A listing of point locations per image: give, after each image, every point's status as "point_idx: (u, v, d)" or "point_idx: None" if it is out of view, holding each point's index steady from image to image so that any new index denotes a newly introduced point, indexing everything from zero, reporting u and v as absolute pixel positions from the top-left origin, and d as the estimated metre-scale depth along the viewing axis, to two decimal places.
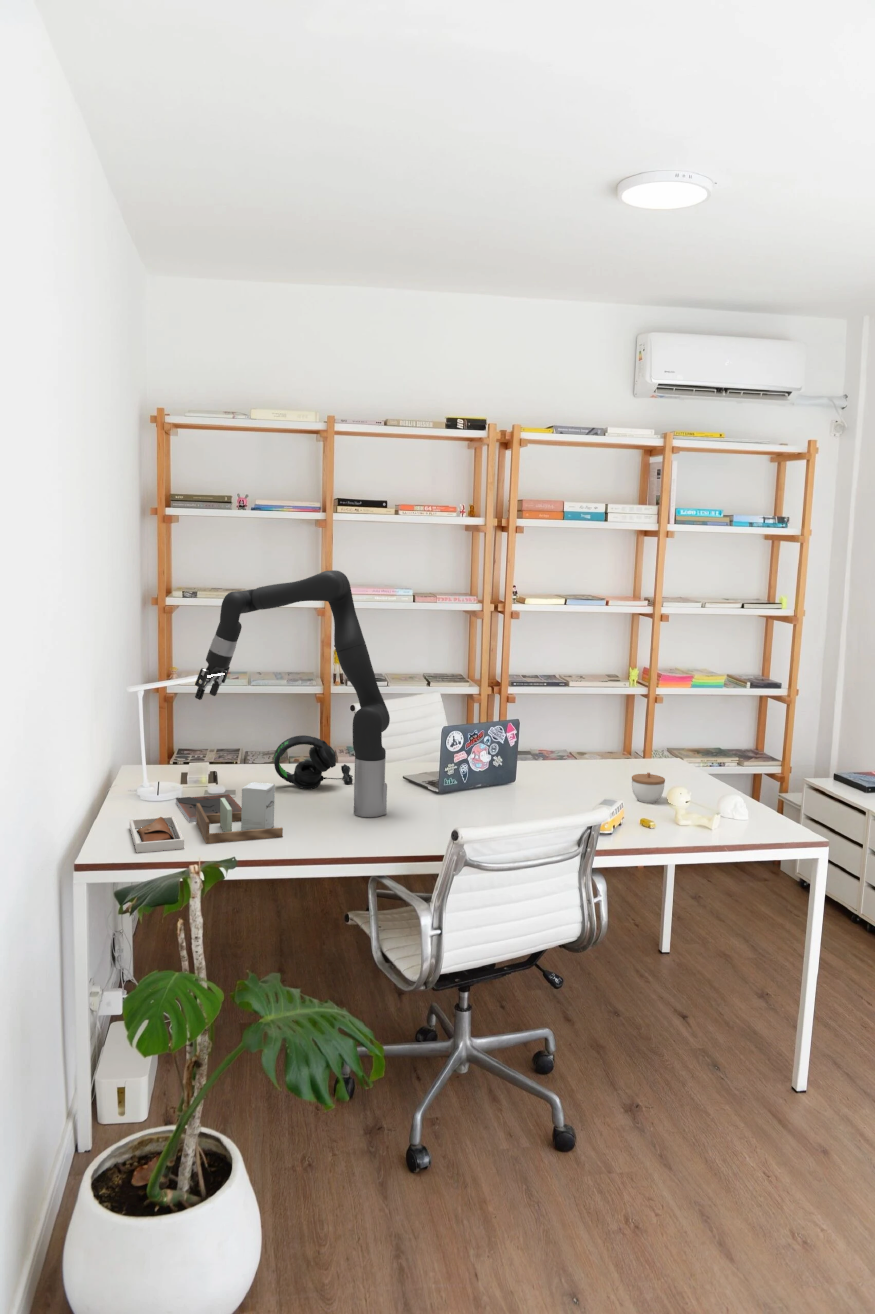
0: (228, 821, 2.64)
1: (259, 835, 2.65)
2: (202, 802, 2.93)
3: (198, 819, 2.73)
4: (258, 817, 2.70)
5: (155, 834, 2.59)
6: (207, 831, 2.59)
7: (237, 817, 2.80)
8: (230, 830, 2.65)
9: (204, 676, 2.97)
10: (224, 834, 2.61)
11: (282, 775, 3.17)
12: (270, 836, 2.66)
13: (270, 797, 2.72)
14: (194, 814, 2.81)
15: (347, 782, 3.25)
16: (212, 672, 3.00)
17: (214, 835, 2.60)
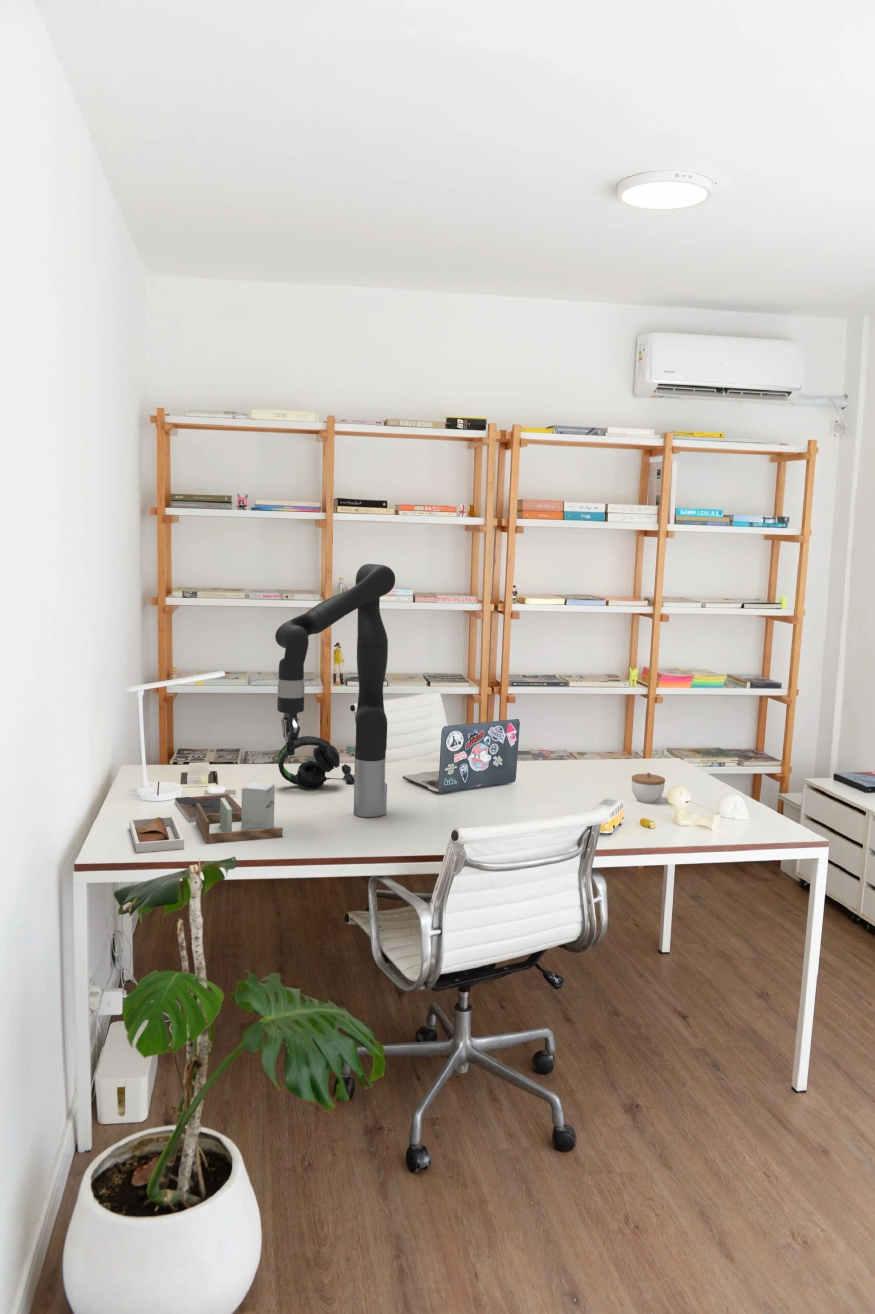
0: (228, 821, 2.64)
1: (259, 835, 2.65)
2: (201, 802, 2.93)
3: (198, 819, 2.73)
4: (258, 817, 2.70)
5: (151, 834, 2.58)
6: (207, 831, 2.59)
7: (237, 817, 2.80)
8: (230, 830, 2.65)
9: (297, 733, 2.69)
10: (224, 834, 2.61)
11: (286, 776, 3.16)
12: (270, 836, 2.66)
13: (270, 797, 2.72)
14: (194, 814, 2.81)
15: (349, 782, 3.26)
16: None
17: (214, 835, 2.60)
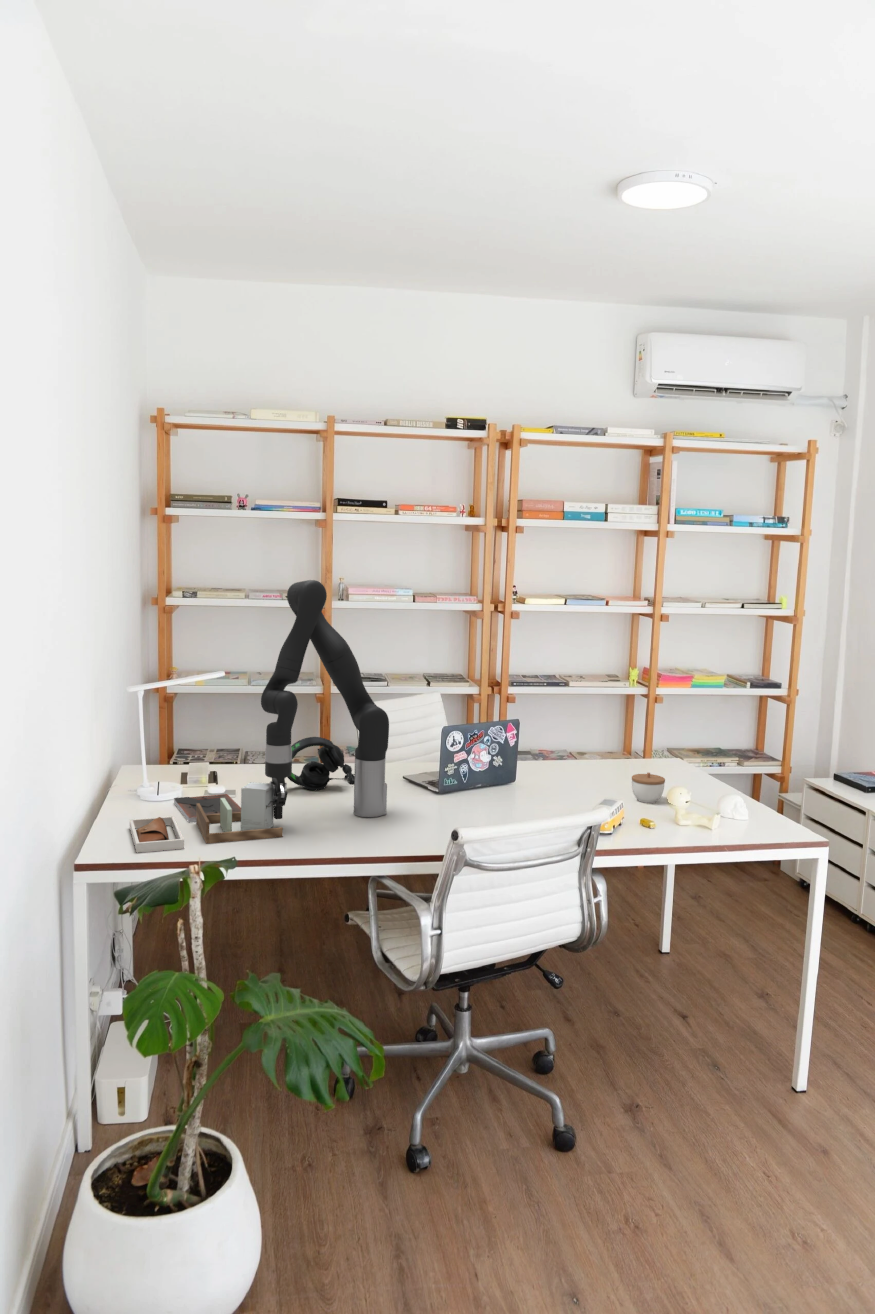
0: (228, 821, 2.64)
1: (259, 835, 2.65)
2: (201, 802, 2.93)
3: (198, 819, 2.73)
4: (258, 817, 2.70)
5: (151, 834, 2.58)
6: (207, 831, 2.59)
7: (237, 817, 2.80)
8: (230, 830, 2.65)
9: (285, 798, 2.70)
10: (224, 834, 2.61)
11: (291, 778, 3.14)
12: (270, 836, 2.66)
13: (269, 797, 2.72)
14: (194, 814, 2.81)
15: (352, 782, 3.26)
16: None
17: (214, 835, 2.60)
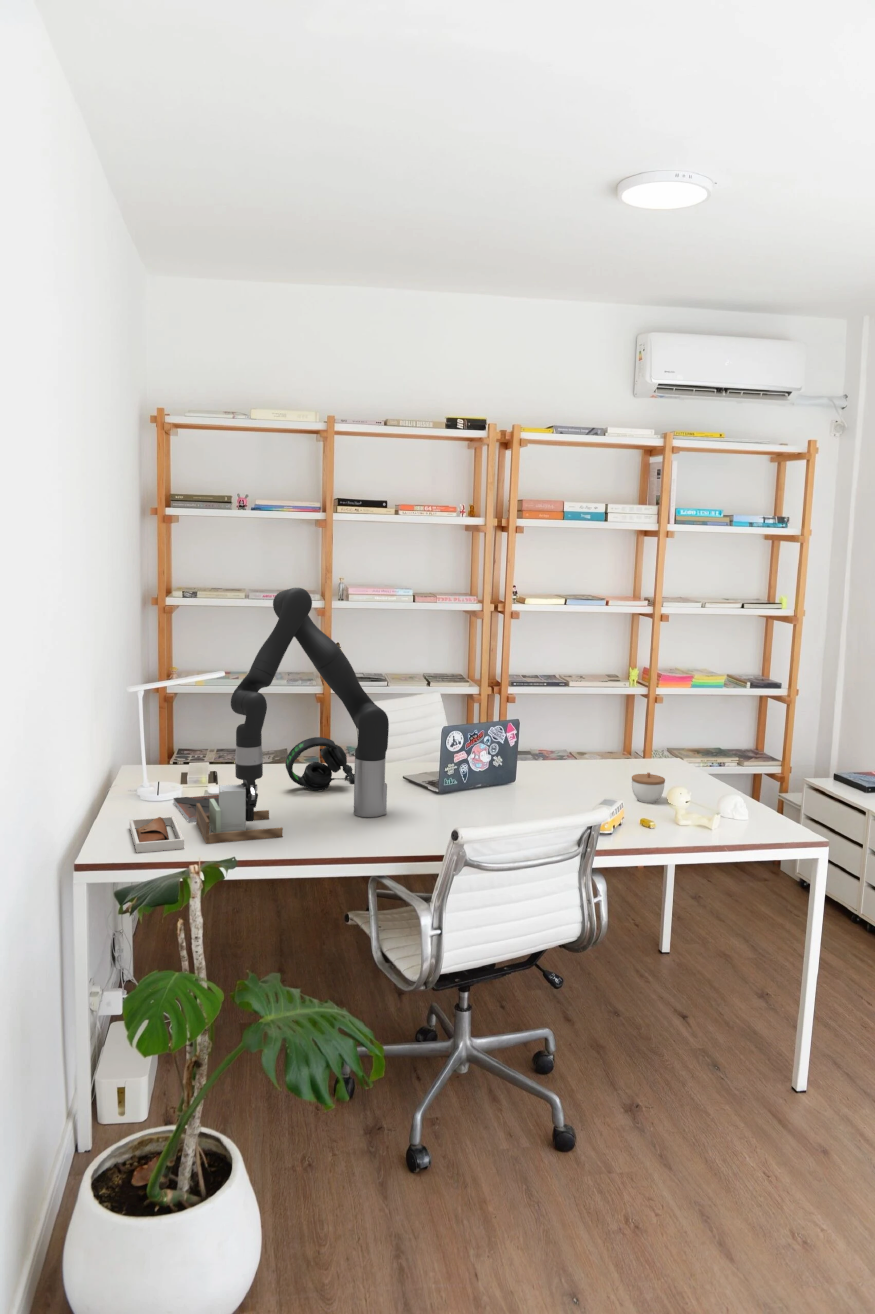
0: (217, 822, 2.63)
1: (259, 835, 2.65)
2: (200, 802, 2.93)
3: (198, 819, 2.73)
4: (238, 819, 2.67)
5: (151, 834, 2.58)
6: (207, 831, 2.59)
7: None
8: (219, 831, 2.64)
9: (255, 800, 2.68)
10: (224, 834, 2.61)
11: (294, 778, 3.14)
12: (270, 836, 2.66)
13: None
14: (194, 814, 2.81)
15: None
16: (255, 791, 2.69)
17: (214, 835, 2.60)
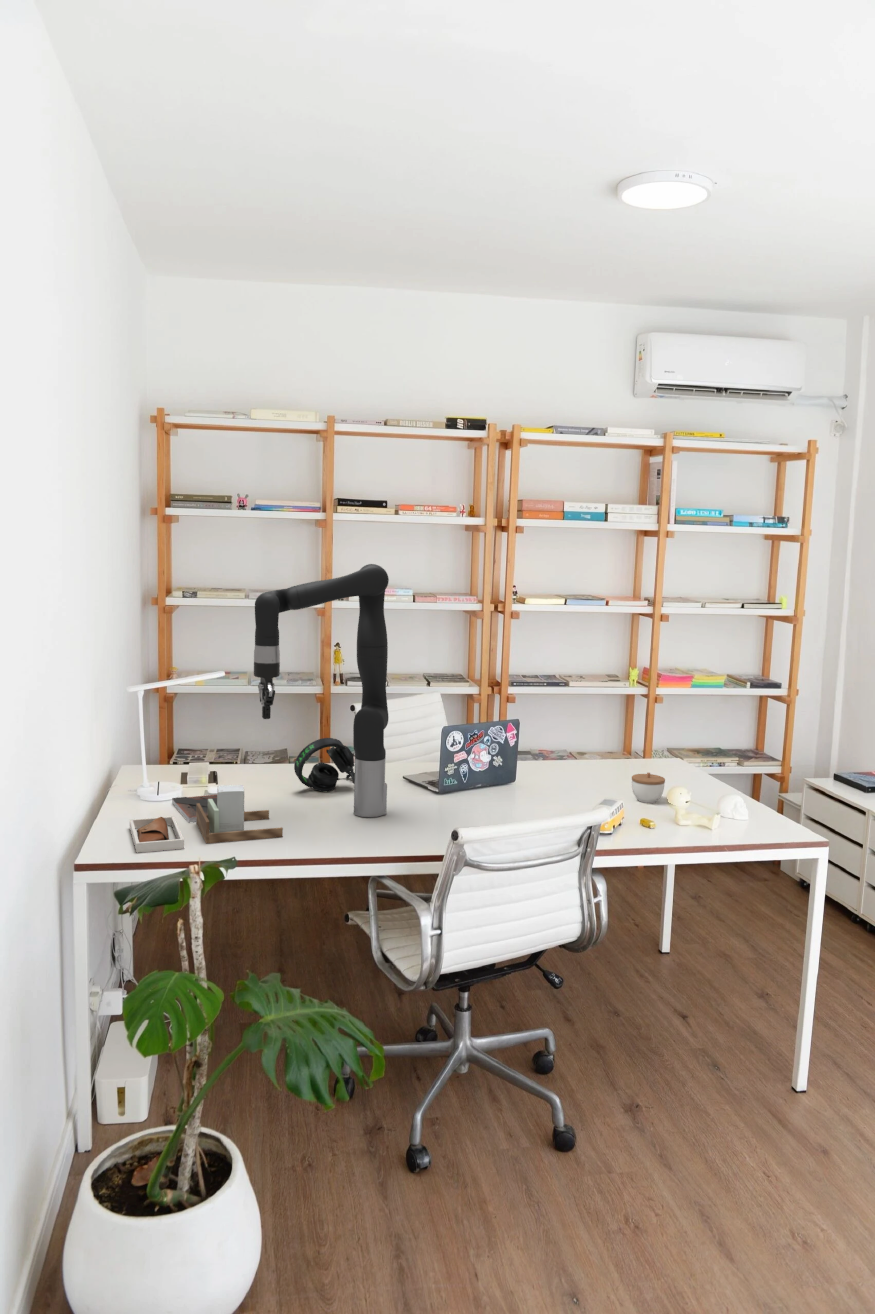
0: (215, 822, 2.63)
1: (259, 835, 2.65)
2: (199, 802, 2.93)
3: (198, 819, 2.73)
4: (236, 819, 2.67)
5: (151, 833, 2.59)
6: (207, 831, 2.59)
7: None
8: (217, 831, 2.64)
9: (273, 696, 2.80)
10: (224, 834, 2.61)
11: (303, 780, 3.12)
12: (270, 836, 2.66)
13: None
14: (193, 814, 2.81)
15: None
16: None
17: (214, 835, 2.60)
